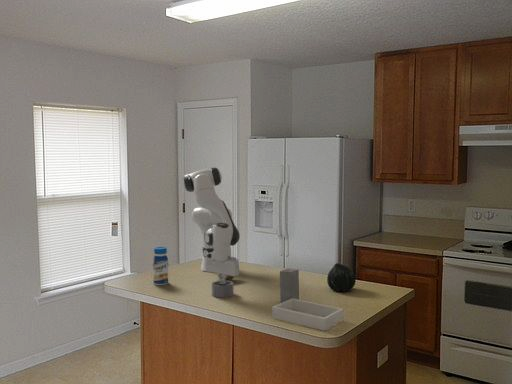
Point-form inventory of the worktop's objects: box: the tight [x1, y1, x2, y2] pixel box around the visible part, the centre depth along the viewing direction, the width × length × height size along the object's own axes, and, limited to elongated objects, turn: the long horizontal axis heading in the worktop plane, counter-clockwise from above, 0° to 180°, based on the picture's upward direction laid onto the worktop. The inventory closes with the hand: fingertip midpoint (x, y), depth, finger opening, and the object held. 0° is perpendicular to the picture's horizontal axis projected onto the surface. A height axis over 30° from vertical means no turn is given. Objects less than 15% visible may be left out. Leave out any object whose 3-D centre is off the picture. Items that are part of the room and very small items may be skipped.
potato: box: [221, 274, 236, 281], centre depth 276 cm, size 8×13×8 cm, turn 139°
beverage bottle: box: [152, 246, 169, 286], centre depth 271 cm, size 8×8×20 cm
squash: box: [326, 263, 356, 293], centre depth 258 cm, size 14×15×15 cm
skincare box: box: [279, 268, 300, 303], centre depth 237 cm, size 8×7×16 cm
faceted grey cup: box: [211, 280, 235, 299], centre depth 250 cm, size 11×11×6 cm
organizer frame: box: [271, 298, 344, 331], centre depth 212 cm, size 16×26×5 cm, turn 52°
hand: (222, 282), depth 249 cm, fingers closed
